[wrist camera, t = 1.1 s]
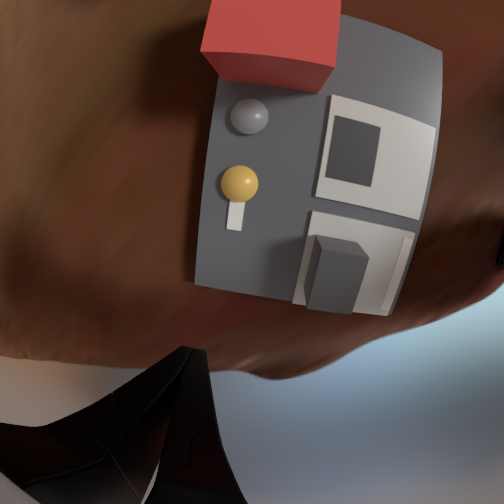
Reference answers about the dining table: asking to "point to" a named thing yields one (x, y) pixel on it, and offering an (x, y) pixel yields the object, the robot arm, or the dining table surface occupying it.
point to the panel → (323, 170)
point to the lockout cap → (273, 41)
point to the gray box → (334, 275)
